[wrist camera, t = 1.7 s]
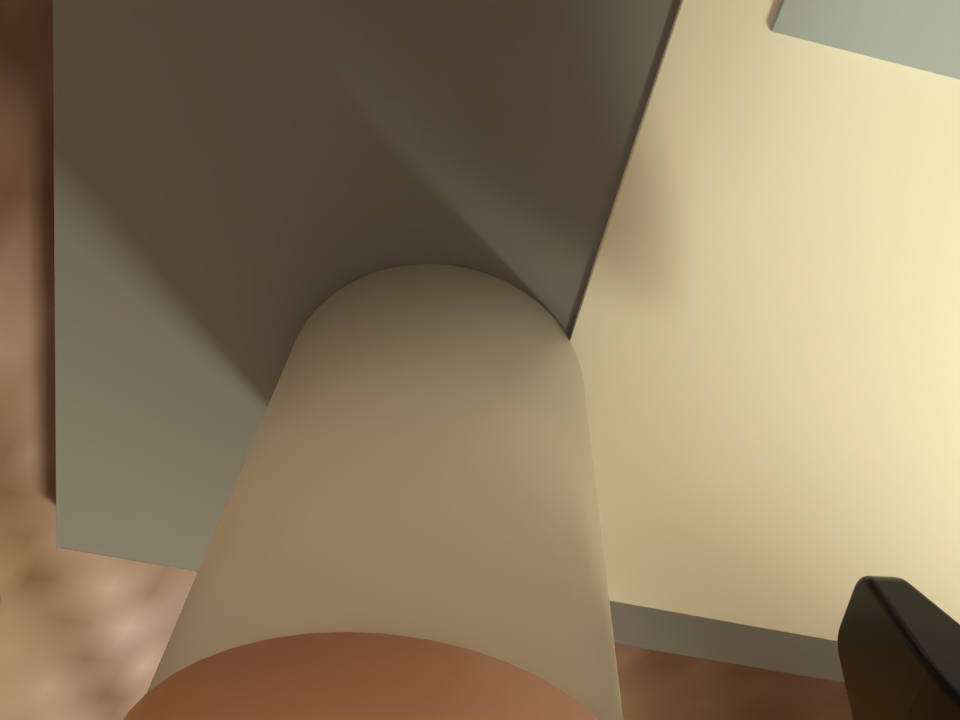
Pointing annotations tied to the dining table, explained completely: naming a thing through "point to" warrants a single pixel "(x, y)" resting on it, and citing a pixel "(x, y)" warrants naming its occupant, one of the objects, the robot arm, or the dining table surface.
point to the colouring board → (540, 269)
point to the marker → (407, 524)
